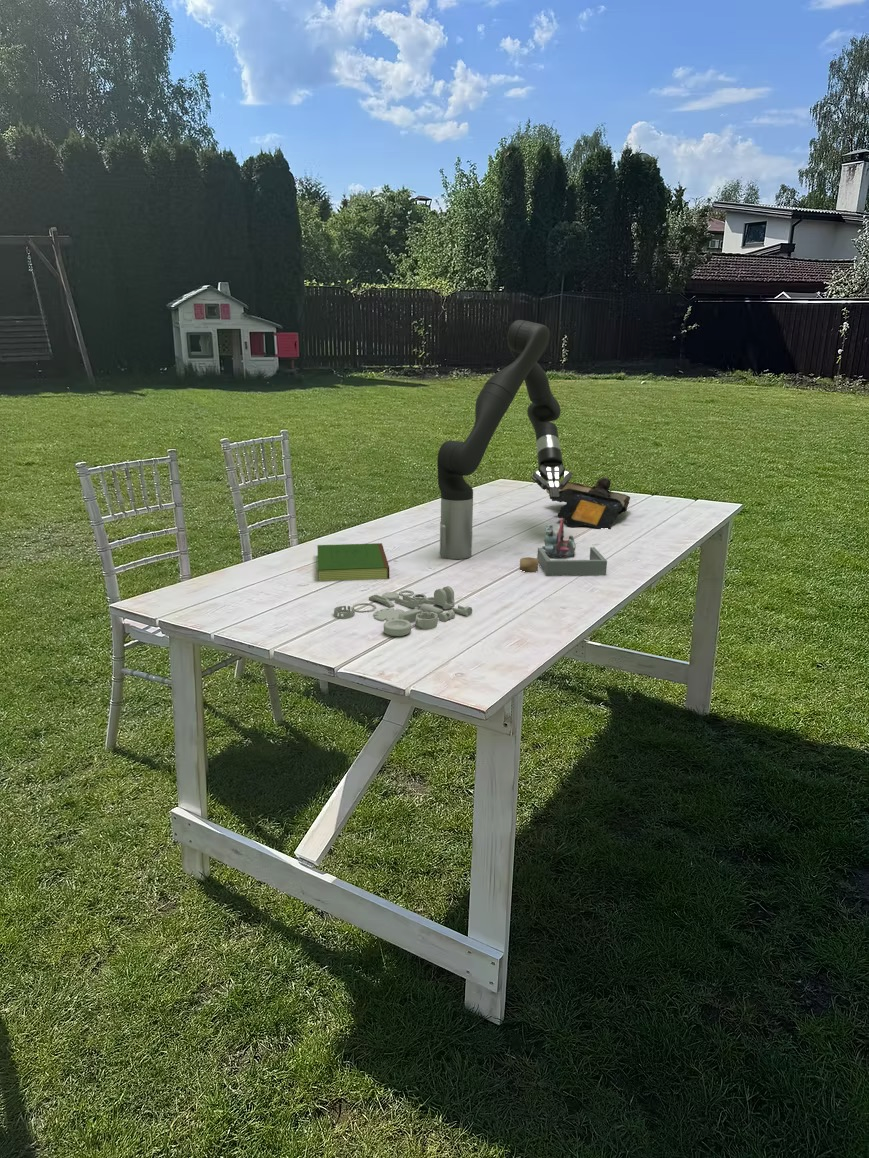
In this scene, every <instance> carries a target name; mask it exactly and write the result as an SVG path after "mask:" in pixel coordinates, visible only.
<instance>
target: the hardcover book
mask: <svg viewBox="0 0 869 1158" xmlns="http://www.w3.org/2000/svg"><path fill="white" fill-rule="evenodd" d="M317 571H318V581H319V582H331V581H332V582H333V581H334V582H337V581H359V580H385V579H387V580H390V565H389V562H388V558H387V555H386V552H385V549H384V545H383V543H382V542H380V543H379V542H378V543H355V544H354V543H346V544H345V543H343V544H318V545H317Z"/></svg>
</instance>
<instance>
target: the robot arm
mask: <svg viewBox="0 0 869 1158" xmlns="http://www.w3.org/2000/svg"><path fill="white" fill-rule="evenodd" d="M550 335H551V332H550V330H549V328H548V327H547V326H546V325H544V324H542V323H538V322H533V321H529V320H523V319H517V320H514V321H513V322H512V323H511V324H510V325H509V328H508V331H507V336H506V339H507V346H508V348H509V350H510V352H511V355H512V357H513V359H514V361H512V362H511V363H510V364H508V365H507V366H505V367H504V368H502V369H500V370H499V371H497V372H496V373H494V374H493V375H492V376H491V377H489V378H488V380H487V381H486V382H485V384H484V385H483V386H482V389H481V391H480V392H479V394H478V395H477V397H476V399H475V400H476V401H475V408H474V409H475V412H474V416H475V420H474V425H473V428H472V430H471V431H470V433H469V435H468V436H467V438H466V439H465V441H459V440H453V439H452V440H445V441H444V442H443V443H442V444H441V446H439V450H438V453H437V460H436V461H437V463H436V464H437V467H436V468H437V484H438V489H439V491H440V521H439V555H440V558H441V559H451V560H462V559H463V560H464V559H468V558H471V557H472V554H473V553H472V552H473V523H474V522H473V520H474V518H473V517H474V516H473V515H474V513H473V511H474V489H473V487H472V486H471V485H470V484H469V483H467V481H466V480H465V478H464V477H465V476H466V477H467V476H468V477H469V476H471V475H472V474H473V473H475V471H476V470H477V469H478V467H479V466H480V464H481V462H482V460H483V457H484V456H485V453H486V450H487V448H488V446H489V445H490V442H491V440H492V438H493V436H494V434H495V432H496V430H497V428H498V427H499V424H500V423H501V421H502V419H503V418H504V416H505V414H506V413H507V411H508V410H509V408H510V406H511V405H512V403H513V401H514V399H515V397H516V395H517V393H518V391H519V390H520V388H521V387H522V384H523V383H525V387H526V390H527V394H528V395H527V396H528V398H529V400H530V402H531V403H530V404H529V405H528V407H527V411H526V412H527V417H528V419H529V421H530V423H531V425H532V427H533V429H534V433H535V440H536V455H537V464H538V469H537V471H535V472H534V471H533V472H532V475H531V480H533V481H534V483H535V484H537V485H538V486H539V487H540V488H541V489H542V490H543V491H544V490H545V491H546V490H548V491H549V494H548V495H549V500H551V501H552V502H557V499H559V496H560V494H559V489H561V490H562V489H563V488H564V487H565V485H566V484H567V483H568V482H569V481H570V480H571V479H572V476H573V472H572V471H567V470H566V467H565V466H564V461H563V454H562V447H561V444H560V443H561V442H560V440H559V430H558V426H557V425H556V424H555V423H554V421H557V420H558V419H559V418H560V416H561V413H562V411H561V410H562V409H561V405H560V404H559V401H558V400H557V399H556V398H555V396H554V394H553V393H552V389H551V387H550V382H549V378H548V375H547V374H546V372H545V370H544V369H543V368H542V366H541V365H540V363H538V361H539V359H541V357H542V355H543V354H544V352H545V351H546V348H547V347H548V344H549V341H550ZM562 477H563V479H562V481H560V480H561V478H562ZM559 482H561V483H559ZM553 485H554V488H553Z"/></svg>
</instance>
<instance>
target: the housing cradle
mask: <svg viewBox="0 0 869 1158" xmlns="http://www.w3.org/2000/svg"><path fill="white" fill-rule="evenodd" d="M536 557H537V558H536V559H538V565H539V564H540V565H539V566H541V567H540V568H541V570H542V572H543V573H544V574H545V576H546V577H547V576H548V577H549V576H552V577H553V576H556V577H557V576H559V575H560V576H561V575H565V576H607V568H608V566H607V565H608V560H607V559H606V558H605V557H604V556H603V555H602V554H601V553H600V551H598V550H597V548H596V547H595V546H593V547H590V549H589V559H550V557H549V556H548V553H547V552H546V550H544V549H543V548H542V547H537V555H536Z"/></svg>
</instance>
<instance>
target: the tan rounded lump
mask: <svg viewBox="0 0 869 1158" xmlns="http://www.w3.org/2000/svg"><path fill="white" fill-rule="evenodd" d="M520 570H522V571H525V572H524V573H526V572H534V573H537V572H538V571H539V563H538V559H537V558H536V557H530V556H529V557H522V558H520V560H519V571H520ZM522 571H521V572H522ZM536 571H537V572H536Z"/></svg>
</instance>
